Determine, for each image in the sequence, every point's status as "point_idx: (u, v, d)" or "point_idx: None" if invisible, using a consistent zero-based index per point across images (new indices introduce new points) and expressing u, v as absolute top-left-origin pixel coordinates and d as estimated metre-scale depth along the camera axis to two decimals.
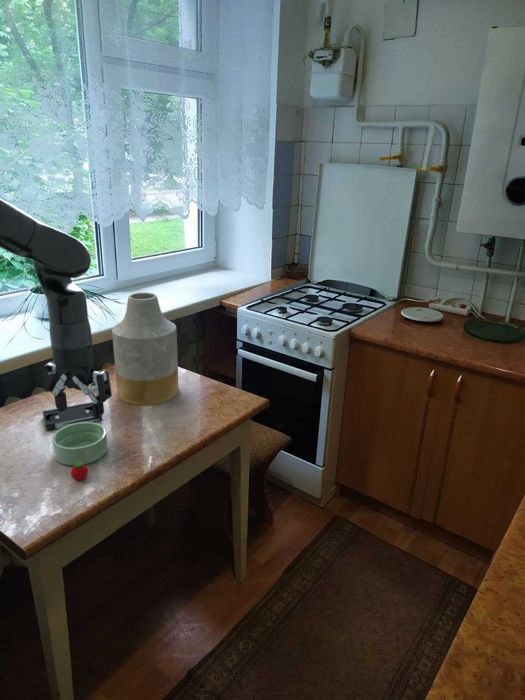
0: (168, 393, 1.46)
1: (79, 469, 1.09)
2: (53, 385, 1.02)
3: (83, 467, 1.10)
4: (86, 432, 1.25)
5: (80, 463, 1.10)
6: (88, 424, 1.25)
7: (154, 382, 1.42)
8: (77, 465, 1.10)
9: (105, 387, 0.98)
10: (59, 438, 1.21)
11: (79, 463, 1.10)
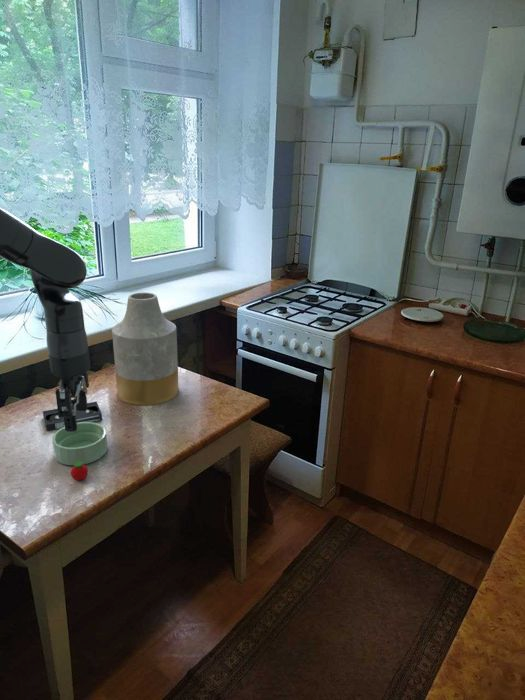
0: (168, 393, 1.46)
1: (79, 469, 1.09)
2: None
3: (83, 467, 1.10)
4: (86, 432, 1.25)
5: (80, 463, 1.10)
6: (88, 424, 1.25)
7: (154, 382, 1.42)
8: (77, 465, 1.10)
9: (61, 404, 0.95)
10: (59, 438, 1.21)
11: (79, 463, 1.10)
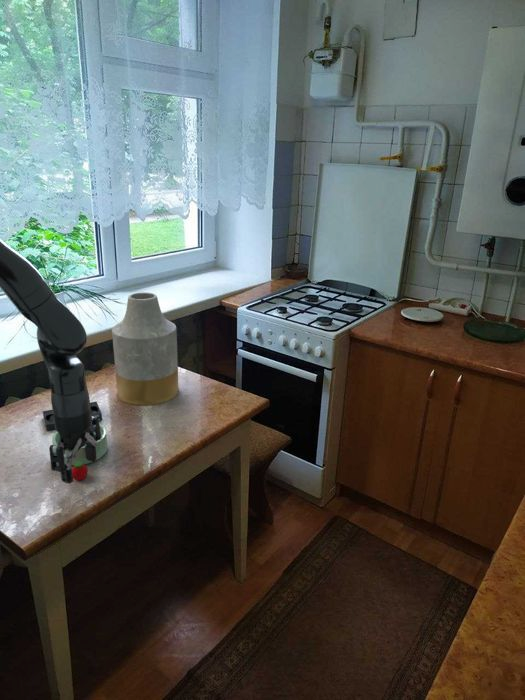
0: (168, 393, 1.46)
1: (79, 469, 1.09)
2: (93, 436, 1.14)
3: (83, 467, 1.10)
4: None
5: (80, 463, 1.10)
6: None
7: (154, 382, 1.42)
8: (77, 465, 1.10)
9: (53, 459, 1.02)
10: (59, 438, 1.21)
11: (79, 463, 1.10)
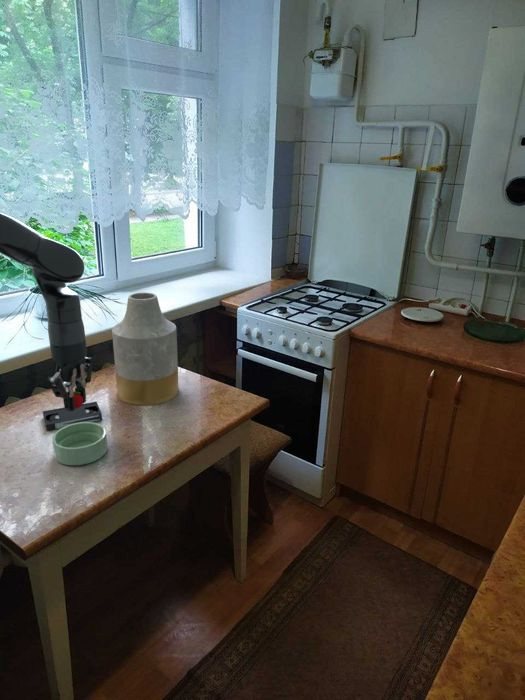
0: (168, 393, 1.46)
1: (77, 395, 1.15)
2: None
3: (80, 396, 1.16)
4: (86, 432, 1.25)
5: (78, 392, 1.16)
6: (88, 424, 1.25)
7: (154, 382, 1.42)
8: (75, 392, 1.15)
9: (54, 389, 1.09)
10: (59, 438, 1.21)
11: (77, 392, 1.16)
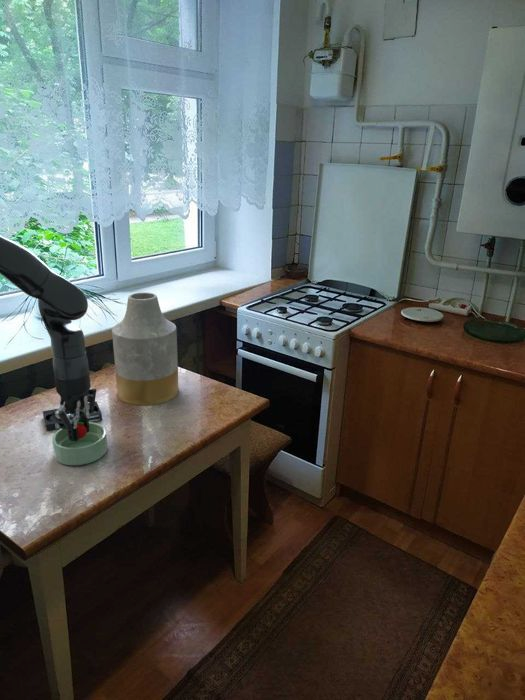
0: (168, 393, 1.46)
1: (80, 426, 1.18)
2: None
3: (84, 426, 1.19)
4: None
5: (82, 422, 1.19)
6: None
7: (154, 382, 1.42)
8: (79, 422, 1.19)
9: (59, 421, 1.12)
10: (59, 438, 1.21)
11: (81, 422, 1.19)
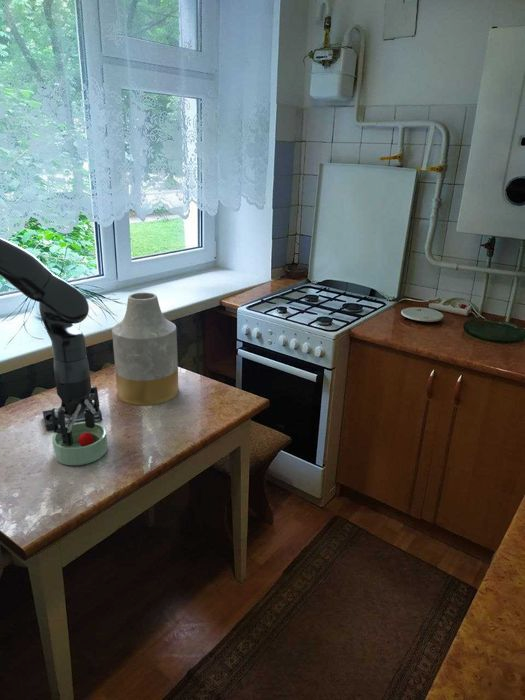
0: (168, 393, 1.46)
1: None
2: (92, 405, 1.22)
3: None
4: (86, 432, 1.25)
5: None
6: None
7: (154, 382, 1.42)
8: None
9: (55, 422, 1.10)
10: (59, 438, 1.21)
11: None
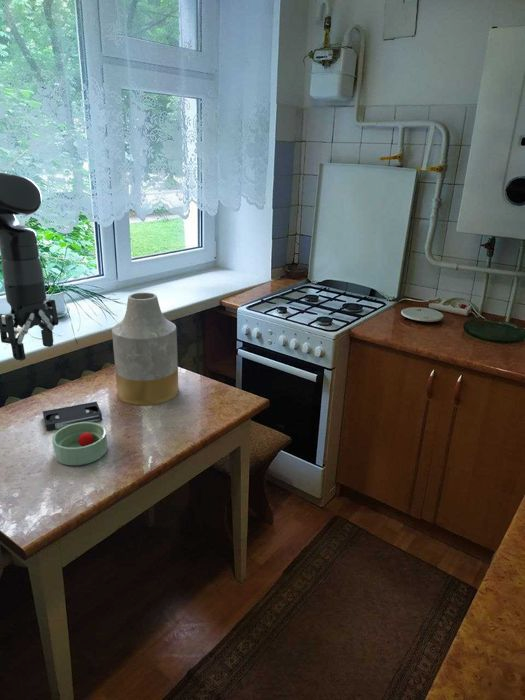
0: (168, 393, 1.46)
1: None
2: (50, 321, 1.11)
3: None
4: (86, 432, 1.25)
5: None
6: (88, 424, 1.25)
7: (154, 382, 1.42)
8: None
9: (2, 329, 0.99)
10: (59, 438, 1.21)
11: None
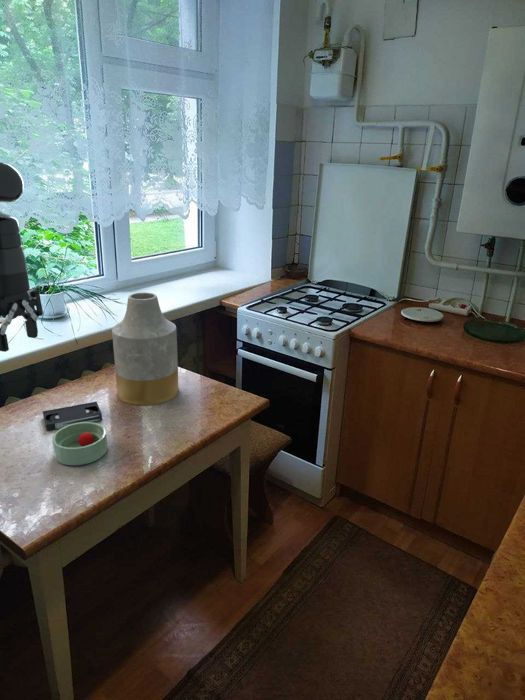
0: (168, 393, 1.46)
1: None
2: (34, 311, 1.09)
3: None
4: (86, 432, 1.25)
5: None
6: (88, 424, 1.25)
7: (154, 382, 1.42)
8: None
9: None
10: (59, 438, 1.21)
11: None
